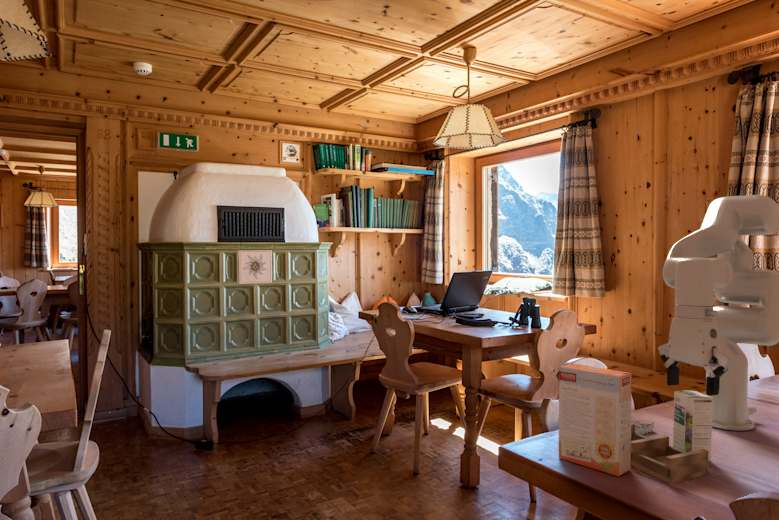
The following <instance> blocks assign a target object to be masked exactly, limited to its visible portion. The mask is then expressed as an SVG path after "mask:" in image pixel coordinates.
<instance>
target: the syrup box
mask: <svg viewBox="0 0 779 520" xmlns="http://www.w3.org/2000/svg"><path fill="white" fill-rule="evenodd" d="M673 394H674V396H673V397H674V398H673V429H672V433H673V434H672V435H673V437H672V438H673V439H672V447H674V448H677V449H680V450H682V451H685V452H691V451H696V450H701V449H705V450H707V451H709V452H708V462H712V435H713V434H712V431H713V429H712V428H713V427H712V399H713V398H712V397H709V396H707V395H706V394H704V393H701V392H699V391H697V390H688V389H686V390H685V389H682V390H674V393H673Z"/></svg>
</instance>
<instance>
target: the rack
mask: <svg viewBox="0 0 779 520" xmlns="http://www.w3.org/2000/svg"><path fill="white" fill-rule="evenodd" d="M635 428H636V427H635V424H633V423H631V468H632V467H633V468H635V469H637V470H639V471H642V472H644V473H645V474H648V475H650V476H652V477H655V478H657V479H659V480H661V481H662V482H663V481H664V482H665V483H668V484H670V485H671V484H676V483H679V482H684V481H688V480H692V478H693V479H696V477H697V478H701V477H705V476H709V461H708V452H709V451H707V450H705V449H701V450H696V451H691V452H685V451H682V450H680V449H677V448H674V447H673V445H670V436H668V435H666V434H661V435H658V436H651V437H648V436H645V435H644V434H642V435H640V434H638V433H635Z"/></svg>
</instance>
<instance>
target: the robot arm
mask: <svg viewBox="0 0 779 520" xmlns="http://www.w3.org/2000/svg"><path fill="white" fill-rule="evenodd" d="M778 232H779V204H778V203H777V202H776V201H775V200H774V199H772V197H770V196H767V195H764V194H748V195H730V196H722V197H721V196H720V197H718V198H716V199H714V200H713V201H711V202H710V204H709V205H708V207H707V209H706V212H705V215H704V217H703V220H702V223H701V225H700V227H699V229H697V230H695V231H694V232H692V233H690V234H688V235H686V236H684V237H683V238H681V239H679V240H678V241H677V242H675V243H674V244H673V245H672V247H671V248H670V250H668V254H667V256H666V259H665V261H664V264H663V266H662V267H663V268H662V278H663V281H664V283H665V284H666V285H667V287H670V288H672V289H674V297H675V298H674V317H672V320H671V324H670V328H669V334H668V342H667V343H663V344H661V345H659V346H657V350H658V352H659V355H660V359H661V361H662V363H664V367H665V368H666V385H667V386H670V387H671V386H678V385H680V367H678V365H679V364H681V363H682V364H687V365H691V366H696V367H703V368H704V370H705V395H707V396H709V397H712V398H713V399H712V428H717V429H720V430H725V431H726V430H728V431H738V432H740V431H741V432H742V431H750V430H753V429H755V423H754V421H752V419H749V416H751V415H755V414H757V411H758V410H757V408H756V407H754V406H750V407H749V406H748V383H749V382H748V380H749V379H748V375H749V361H748V357H747V355H746V354H745V352H744V351H743V350H742V348H741V347H740V346H739V345H738V344H747V345H757V346H766V347H767V346H769V347H770V346H775V345H776V344H779V272H778V271H776V270H772V269H762V268H761V269H760V268H759V269H756V268H754V260H755V259H754V258H755V257H754V256H755V254H754V252H753V251H752V249H751V248H750V247H749V246H748V244H747V243H745V242H744V241H743V240H742V239H741V238H739V236H771V235H775V234H777V233H778ZM716 255H717V257H714V256H716ZM753 268H754V269H753ZM714 298H716V299H717V300H718V301H719V302H721V303H727V304H735V305H734V306H733V305H715V306H714ZM737 305H749V306H750V305H751V306H760V307H745V306H737Z"/></svg>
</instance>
